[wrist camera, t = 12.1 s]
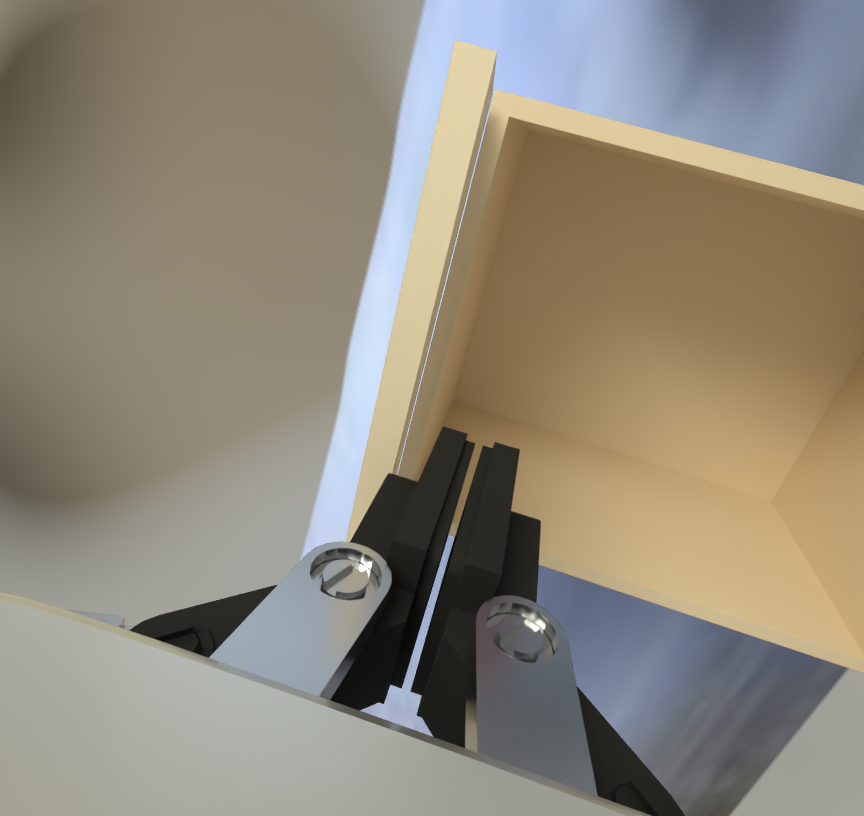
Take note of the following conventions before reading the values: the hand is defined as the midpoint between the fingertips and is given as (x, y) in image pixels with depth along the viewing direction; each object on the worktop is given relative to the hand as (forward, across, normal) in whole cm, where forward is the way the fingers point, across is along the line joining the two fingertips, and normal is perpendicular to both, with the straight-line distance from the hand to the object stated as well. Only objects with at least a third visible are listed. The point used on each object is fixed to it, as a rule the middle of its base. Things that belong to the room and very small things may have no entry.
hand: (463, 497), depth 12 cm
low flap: (+4, +2, 0) cm, 4 cm away
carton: (+21, -7, 0) cm, 22 cm away
